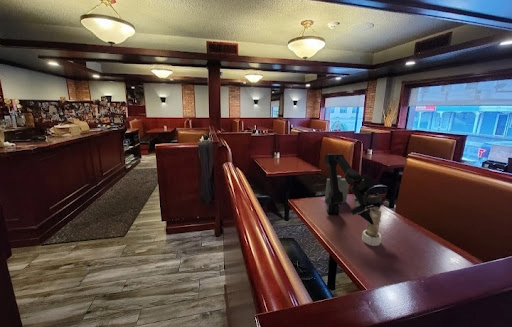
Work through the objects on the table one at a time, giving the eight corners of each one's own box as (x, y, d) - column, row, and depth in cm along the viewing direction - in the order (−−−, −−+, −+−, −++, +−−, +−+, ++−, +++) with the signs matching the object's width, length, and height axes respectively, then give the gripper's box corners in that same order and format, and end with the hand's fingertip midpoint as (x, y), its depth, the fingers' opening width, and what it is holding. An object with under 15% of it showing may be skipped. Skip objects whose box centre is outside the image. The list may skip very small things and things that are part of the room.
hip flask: (344, 200, 166) (348, 174, 161) (347, 202, 162) (350, 176, 157) (324, 201, 165) (326, 175, 160) (326, 203, 161) (328, 177, 156)
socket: (364, 244, 114) (365, 237, 113) (360, 235, 122) (361, 228, 121) (382, 246, 112) (383, 239, 111) (376, 237, 120) (378, 230, 119)
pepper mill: (368, 237, 114) (372, 209, 110) (365, 231, 119) (369, 205, 115) (378, 238, 114) (383, 210, 109) (375, 232, 118) (379, 205, 114)
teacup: (362, 213, 147) (364, 201, 145) (349, 206, 157) (350, 195, 155) (376, 208, 154) (378, 198, 152) (362, 202, 163) (364, 192, 161)
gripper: (359, 191, 109) (376, 222, 103) (383, 185, 118) (400, 214, 111) (344, 200, 118) (359, 229, 112) (368, 194, 126) (383, 220, 120)
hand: (376, 223), depth 113 cm, fingers closed on pepper mill, 5 cm apart
